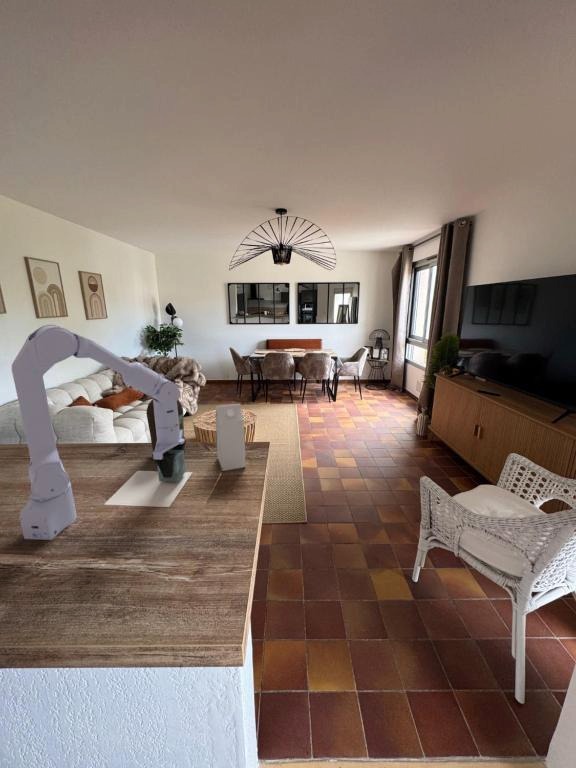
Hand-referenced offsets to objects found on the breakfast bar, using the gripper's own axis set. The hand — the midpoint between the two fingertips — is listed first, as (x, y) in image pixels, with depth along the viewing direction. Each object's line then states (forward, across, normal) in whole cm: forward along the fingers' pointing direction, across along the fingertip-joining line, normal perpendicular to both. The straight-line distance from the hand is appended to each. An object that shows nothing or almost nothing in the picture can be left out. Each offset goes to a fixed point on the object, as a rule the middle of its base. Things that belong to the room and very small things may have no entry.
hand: (172, 471), depth 88 cm
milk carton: (+4, +12, -14) cm, 18 cm away
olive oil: (+4, +16, +8) cm, 18 cm away
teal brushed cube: (+2, 0, 0) cm, 2 cm away
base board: (+4, -4, +4) cm, 7 cm away
